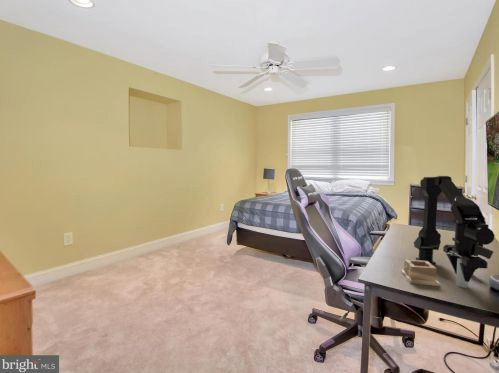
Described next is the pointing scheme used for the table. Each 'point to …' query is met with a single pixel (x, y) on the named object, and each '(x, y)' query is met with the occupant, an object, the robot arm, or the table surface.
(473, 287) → the table surface
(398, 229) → the table surface
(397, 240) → the table surface
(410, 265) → the bottle holder
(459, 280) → the peg
